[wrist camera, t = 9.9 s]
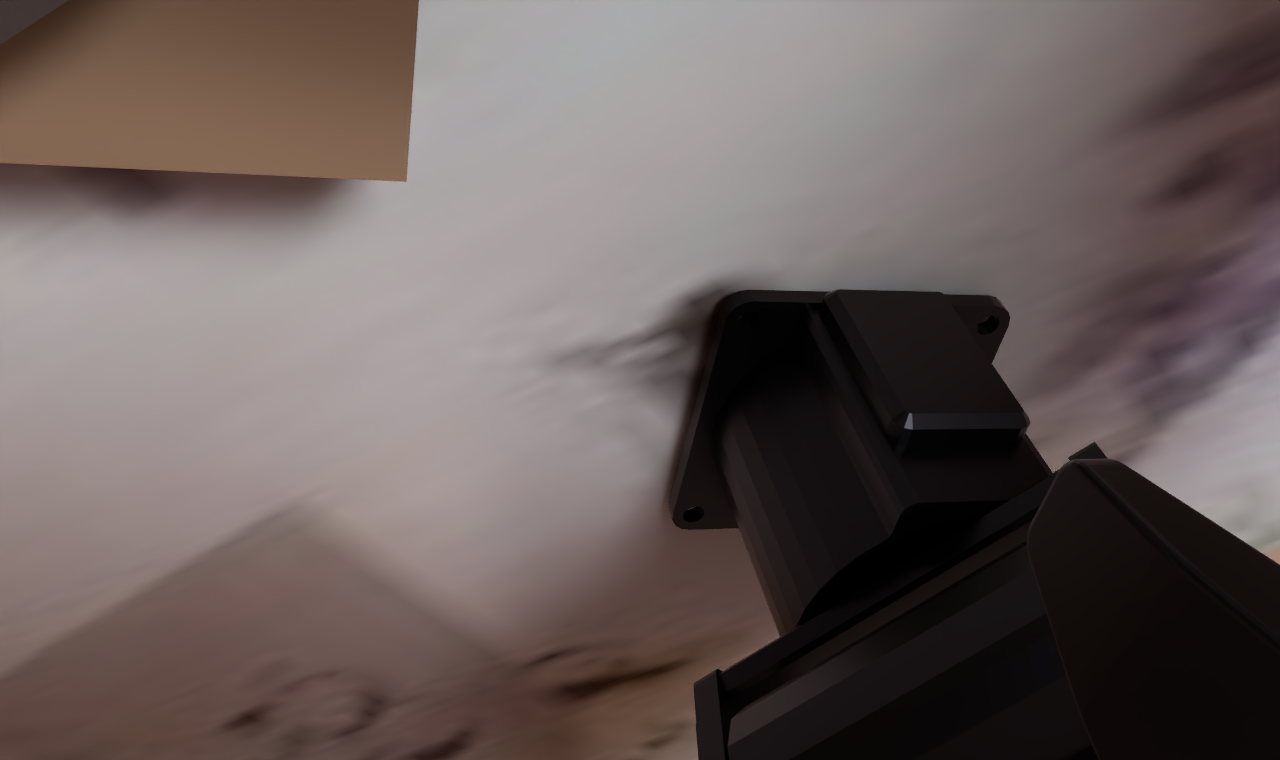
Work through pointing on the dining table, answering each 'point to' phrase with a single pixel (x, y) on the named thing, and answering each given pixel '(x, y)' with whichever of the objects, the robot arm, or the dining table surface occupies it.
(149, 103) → the wheel base
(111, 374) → the dining table surface
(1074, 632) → the robot arm
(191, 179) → the dining table surface
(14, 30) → the handwheel
